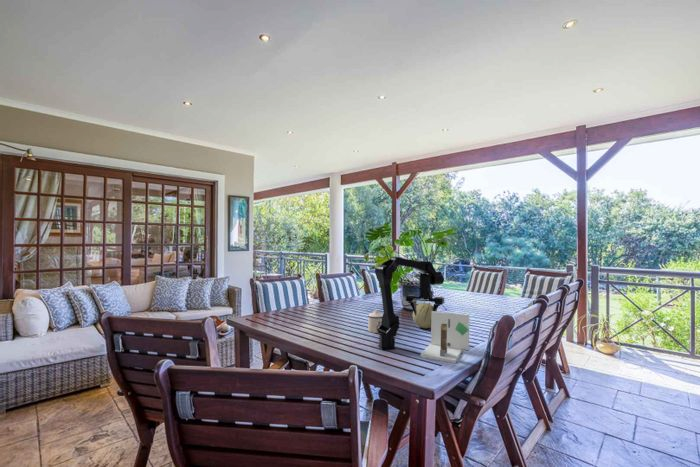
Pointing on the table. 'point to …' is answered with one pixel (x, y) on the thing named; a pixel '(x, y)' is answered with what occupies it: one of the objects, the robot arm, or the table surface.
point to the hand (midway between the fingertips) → (424, 316)
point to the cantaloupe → (423, 315)
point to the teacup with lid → (374, 321)
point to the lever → (444, 337)
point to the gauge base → (448, 336)
